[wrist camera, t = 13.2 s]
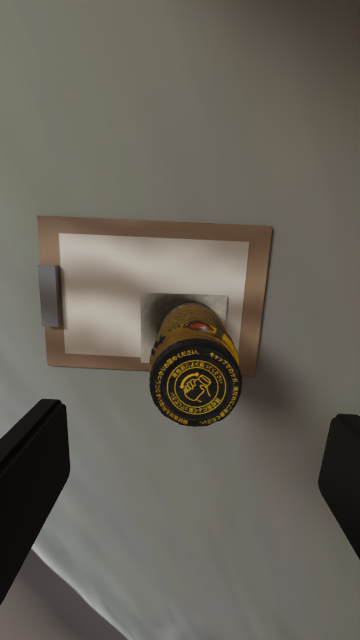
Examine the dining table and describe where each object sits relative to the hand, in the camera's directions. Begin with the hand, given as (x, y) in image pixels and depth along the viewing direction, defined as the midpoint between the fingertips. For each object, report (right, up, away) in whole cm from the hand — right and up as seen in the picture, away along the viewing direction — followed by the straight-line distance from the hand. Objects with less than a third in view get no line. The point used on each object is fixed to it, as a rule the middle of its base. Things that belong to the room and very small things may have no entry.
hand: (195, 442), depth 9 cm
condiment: (0, +3, +17) cm, 17 cm away
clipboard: (-3, +6, +17) cm, 18 cm away
